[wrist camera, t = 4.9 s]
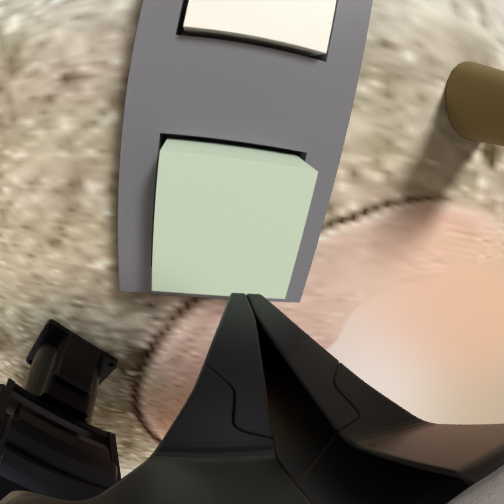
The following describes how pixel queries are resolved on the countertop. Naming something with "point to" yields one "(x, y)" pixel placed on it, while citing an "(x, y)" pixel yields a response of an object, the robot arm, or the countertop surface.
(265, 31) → the cream key
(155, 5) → the key panel
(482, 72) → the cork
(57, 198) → the countertop surface
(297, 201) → the sage key
